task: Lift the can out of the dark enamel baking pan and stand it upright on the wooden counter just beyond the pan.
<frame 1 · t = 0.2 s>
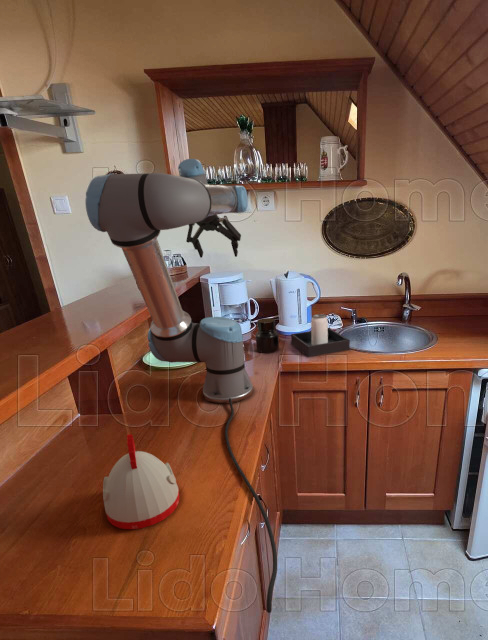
hand: (219, 254, 161), 36 cm above the table, tool tilted 35°, fingers open, 13 cm apart
toy helmet: (144, 505, 84), on the table
ink bottle: (267, 350, 167), on the table
can: (319, 345, 169), resting on pan
pan: (319, 346, 169), on the table
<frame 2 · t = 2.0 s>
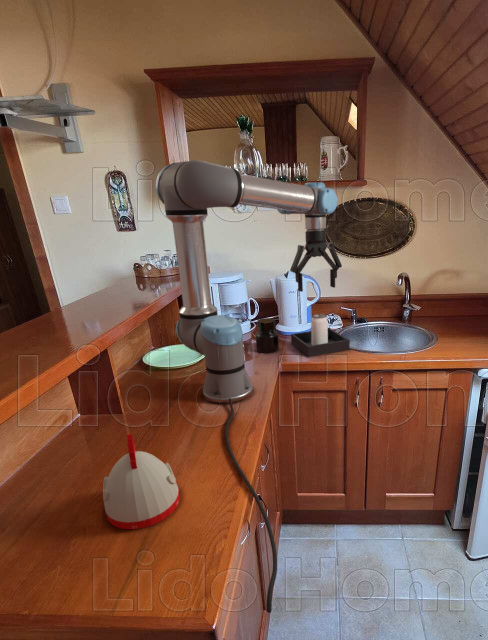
hand: (316, 289, 160), 23 cm above the table, tool pointing down, fingers open, 13 cm apart
nothing on the table moved.
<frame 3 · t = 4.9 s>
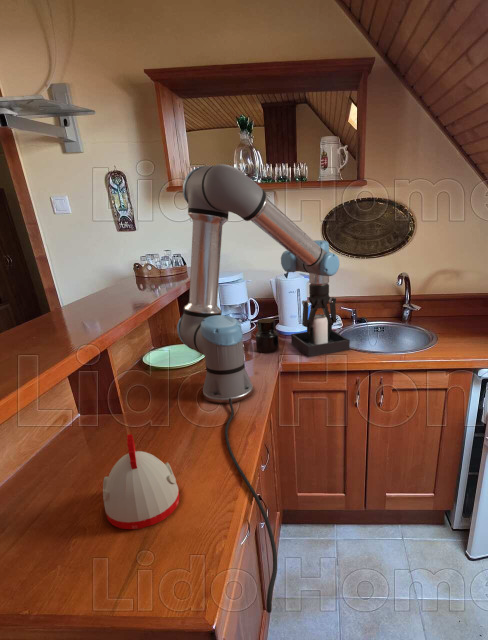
hand: (319, 341, 168), 2 cm above the table, tool pointing down, fingers closed on can, 6 cm apart
can: (319, 345, 169), resting on pan, touching gripper
everything else where it was.
when the fingers open (2 cm above the table, at t = 13.5 s): can stays where it is, on the table.
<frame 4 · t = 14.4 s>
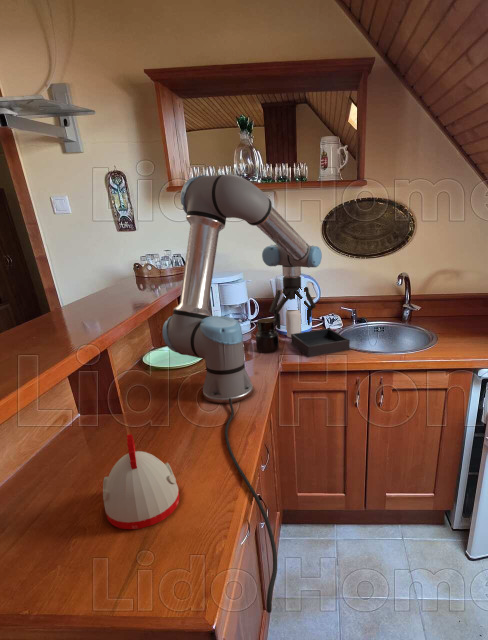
hand: (293, 326, 181), 4 cm above the table, tool pointing down, fingers open, 13 cm apart
can: (293, 336, 183), on the table
everything else where it was.
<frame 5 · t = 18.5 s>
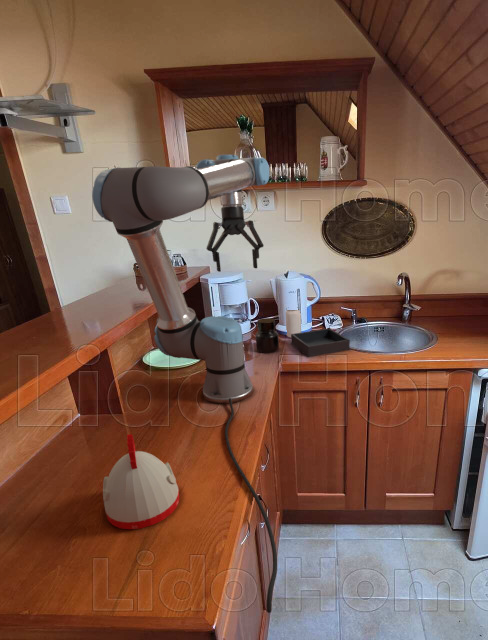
hand: (237, 269, 153), 32 cm above the table, tool pointing down, fingers open, 13 cm apart
nothing on the table moved.
at the end: can inside the target area (0.0 cm from its centre), on the table; can tilted 0° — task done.
